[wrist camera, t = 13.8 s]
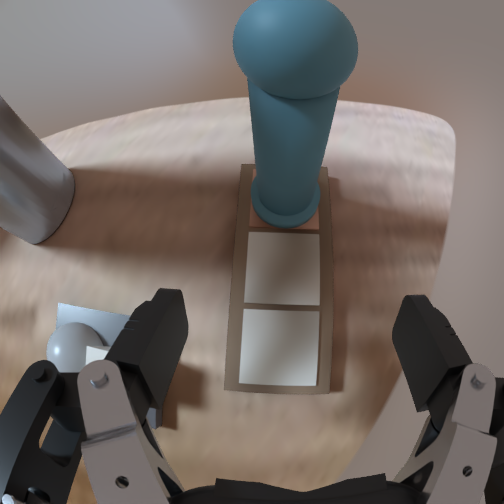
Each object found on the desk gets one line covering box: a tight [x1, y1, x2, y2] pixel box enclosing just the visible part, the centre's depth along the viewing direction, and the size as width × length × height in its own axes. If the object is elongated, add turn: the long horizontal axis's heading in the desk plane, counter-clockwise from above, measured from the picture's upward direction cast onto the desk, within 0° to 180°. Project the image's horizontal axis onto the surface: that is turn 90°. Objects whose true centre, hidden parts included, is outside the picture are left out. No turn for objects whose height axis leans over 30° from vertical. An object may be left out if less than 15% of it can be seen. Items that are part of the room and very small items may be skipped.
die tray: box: [47, 303, 162, 429], centre depth 17 cm, size 10×8×6 cm
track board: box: [224, 164, 333, 394], centre depth 18 cm, size 7×16×1 cm, turn 177°
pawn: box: [233, 0, 358, 229], centre depth 12 cm, size 5×5×14 cm
